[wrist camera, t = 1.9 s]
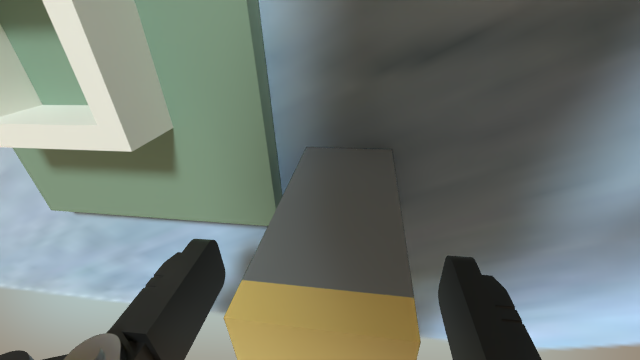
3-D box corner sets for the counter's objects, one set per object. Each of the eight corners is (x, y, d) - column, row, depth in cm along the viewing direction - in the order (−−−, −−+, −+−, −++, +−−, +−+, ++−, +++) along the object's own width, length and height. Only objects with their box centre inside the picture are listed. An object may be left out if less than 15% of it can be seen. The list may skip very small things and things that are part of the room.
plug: (392, 149, 13) (420, 342, 5) (385, 219, 15) (399, 432, 7) (306, 147, 14) (223, 317, 6) (310, 214, 16) (252, 406, 8)
